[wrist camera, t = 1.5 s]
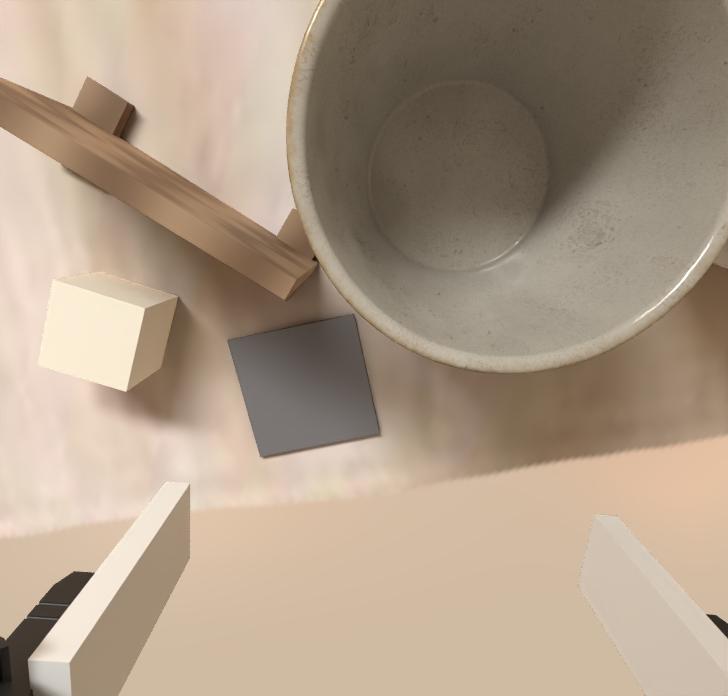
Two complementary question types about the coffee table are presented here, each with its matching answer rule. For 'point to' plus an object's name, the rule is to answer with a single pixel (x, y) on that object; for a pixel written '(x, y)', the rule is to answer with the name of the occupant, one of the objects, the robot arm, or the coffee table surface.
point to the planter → (512, 169)
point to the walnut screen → (154, 183)
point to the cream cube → (106, 329)
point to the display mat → (305, 385)
